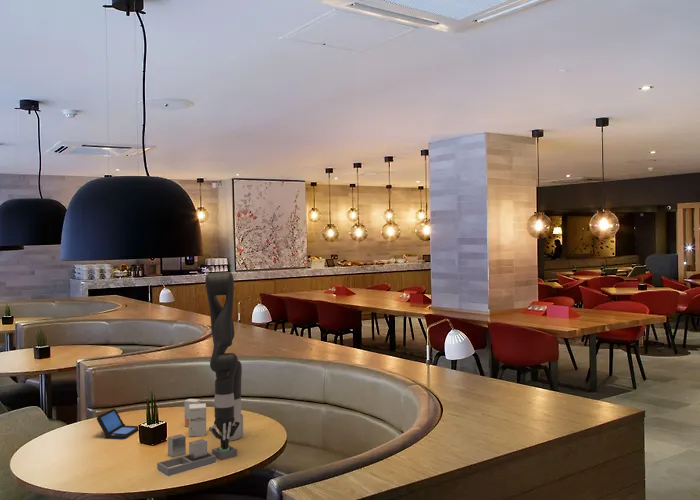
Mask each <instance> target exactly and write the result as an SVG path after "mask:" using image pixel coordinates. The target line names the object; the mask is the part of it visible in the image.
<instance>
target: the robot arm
mask: <svg viewBox="0 0 700 500" xmlns="http://www.w3.org/2000/svg"><path fill="white" fill-rule="evenodd" d="M204 283H205V290H206V297H207V301H208V308H209V314H210V315H209V316H210V327H211V328H210V329H211V335H212V343H213V349H212V354H211V357H210V362H209V366H210V369H211V371H213V372H214V373H215V377H216V378H215V381H214V400H213V401H214V421H213V425H212V426H209V428H208V431H210V432H211V434H212V435H213V436H214V437H215V438H216V439H218V440H220V447H221V448H222V449H227V448H228V446H230V445H229V444H230V441H235V440H239V439H241V438H243V437H244V414H243V413H242V374H243V369H242V368H243V366H242V362H241V361H240V360H238V356H237V354H236V353H234V352H228V353H227V352H226V351H227V349H228V348H229V347H232V345H233V340H234V338H235V324H234V319H233V312H234V310H233V309H234V298H235V297H234V296H235V280H234V276H233V273H232V272H230V271H223V272H222V271H221V272H219V271H218V272H209V273H206V275H205V282H204ZM217 296H225V301H224V303H223V306H222V305H221V303H220V301H219V300H218V298H217ZM217 430H218V431H217Z"/></svg>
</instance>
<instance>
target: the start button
mask: <svg viewBox="0 0 700 500" xmlns="http://www.w3.org/2000/svg"><path fill="white" fill-rule="evenodd" d="M228 450H230V448H229V447H228V448H227V449H222V448H220V449H219V451H221V452H225V451H228Z"/></svg>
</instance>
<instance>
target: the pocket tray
mask: <svg viewBox="0 0 700 500" xmlns="http://www.w3.org/2000/svg"><path fill="white" fill-rule="evenodd" d="M156 463H157V464H156V469H155V471H157V472H158V473H160V474H161V475H163V476H164V477H166V478H169V477H172V476H176V475H179V474H183V473H187V472H190V471H194V470H197V469H201V468H204V467H208V466H211V465H215V464H218V463H219V462H218V461H217V458H216V456H215V455H213V454H212V452H210V451H207V458H204V459H200V460H197V461H193V462H192V461H191V460H189V454H184V455H181V456H177V457H172V458H170V459H167V460H162V461H158V462H156Z"/></svg>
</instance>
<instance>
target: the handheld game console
mask: <svg viewBox="0 0 700 500" xmlns="http://www.w3.org/2000/svg"><path fill="white" fill-rule="evenodd" d="M96 421H97V423H98V424H99V426H100V428H101V430H102V432H103V433H104V435H105V436H104V438H105V439H114V440H115V439H116V440H117V439H118V440H125V439H127V438H129V437H130V436H132V435H133V434H135V433H137V432H139V430H138V426H139V425H126V424H125V423H124V422H123V420H122V418H121V416H120V415H119V412H118V411H117V409H115V408H112V409H110V410H108V411H106V412H104V413H101V414H100V415H98V416H96Z"/></svg>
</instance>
